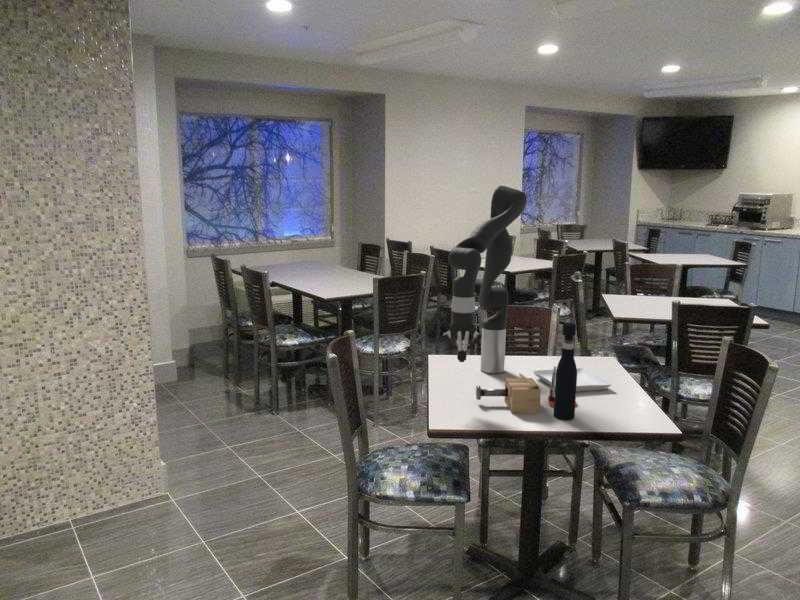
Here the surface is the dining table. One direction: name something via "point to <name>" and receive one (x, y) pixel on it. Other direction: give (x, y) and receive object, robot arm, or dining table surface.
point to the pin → (490, 392)
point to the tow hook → (552, 390)
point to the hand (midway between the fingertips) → (461, 361)
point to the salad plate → (578, 380)
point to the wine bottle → (566, 377)
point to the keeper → (527, 379)
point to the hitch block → (522, 396)
